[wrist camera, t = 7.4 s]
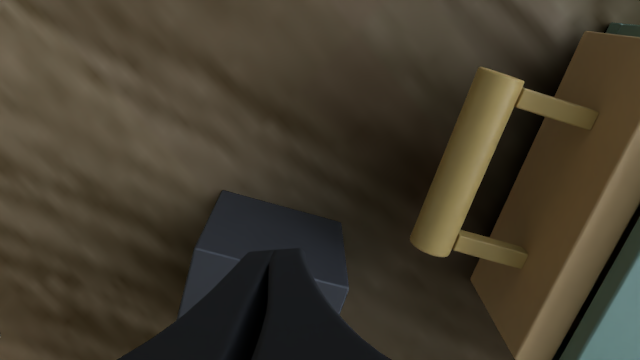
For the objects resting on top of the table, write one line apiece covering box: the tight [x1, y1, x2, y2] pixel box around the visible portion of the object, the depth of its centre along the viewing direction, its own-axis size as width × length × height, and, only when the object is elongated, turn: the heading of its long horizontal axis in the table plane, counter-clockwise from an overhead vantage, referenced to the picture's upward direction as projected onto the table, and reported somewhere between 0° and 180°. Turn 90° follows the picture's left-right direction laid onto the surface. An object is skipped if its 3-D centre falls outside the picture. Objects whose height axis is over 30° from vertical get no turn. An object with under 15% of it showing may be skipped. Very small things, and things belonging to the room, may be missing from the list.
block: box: [176, 190, 349, 321], centre depth 19 cm, size 5×5×5 cm
